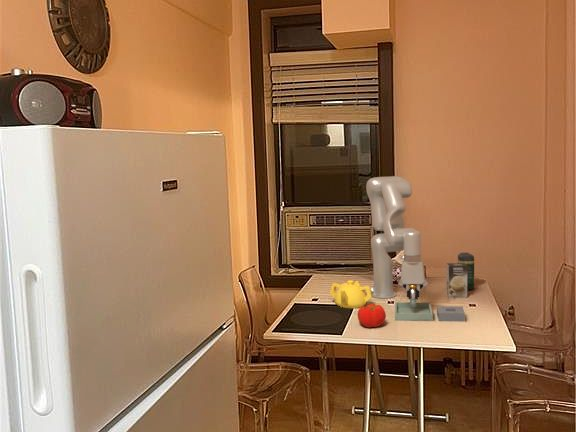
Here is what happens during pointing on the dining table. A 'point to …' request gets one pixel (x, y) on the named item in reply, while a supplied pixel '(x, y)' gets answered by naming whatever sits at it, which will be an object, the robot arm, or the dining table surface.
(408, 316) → the tray
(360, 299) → the teapot
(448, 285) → the coffee box
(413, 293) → the orange knob peg
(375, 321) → the tomato
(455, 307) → the grey square hole block
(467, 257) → the coffee jar
